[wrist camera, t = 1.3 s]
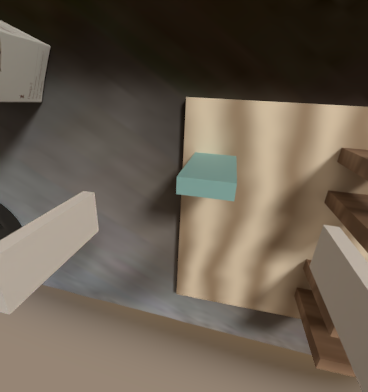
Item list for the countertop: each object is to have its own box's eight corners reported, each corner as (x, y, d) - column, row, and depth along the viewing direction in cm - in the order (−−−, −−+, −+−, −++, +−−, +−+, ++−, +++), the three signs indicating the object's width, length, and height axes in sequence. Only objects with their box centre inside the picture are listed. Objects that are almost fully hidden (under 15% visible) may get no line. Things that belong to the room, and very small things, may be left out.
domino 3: (342, 275, 31) (387, 348, 22) (302, 268, 32) (330, 336, 22) (346, 265, 30) (394, 337, 21) (305, 259, 31) (335, 325, 22)
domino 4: (331, 302, 33) (368, 380, 24) (294, 295, 34) (315, 368, 24) (334, 294, 32) (374, 370, 23) (296, 287, 33) (320, 358, 24)
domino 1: (234, 168, 28) (234, 201, 19) (194, 164, 29) (175, 194, 20) (236, 156, 28) (236, 183, 19) (195, 152, 28) (176, 176, 19)
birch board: (178, 288, 39) (176, 293, 38) (188, 97, 27) (186, 97, 26) (345, 321, 35) (348, 328, 34) (443, 111, 23) (453, 111, 22)
